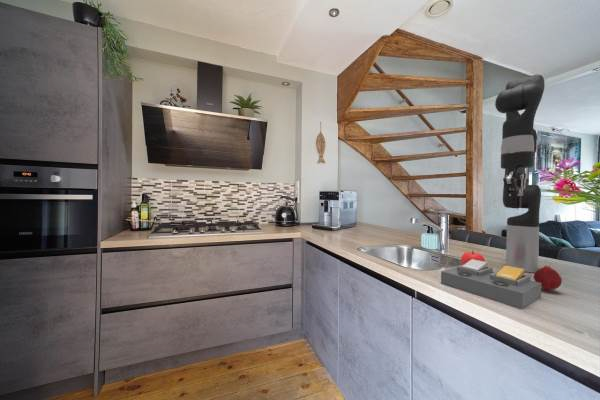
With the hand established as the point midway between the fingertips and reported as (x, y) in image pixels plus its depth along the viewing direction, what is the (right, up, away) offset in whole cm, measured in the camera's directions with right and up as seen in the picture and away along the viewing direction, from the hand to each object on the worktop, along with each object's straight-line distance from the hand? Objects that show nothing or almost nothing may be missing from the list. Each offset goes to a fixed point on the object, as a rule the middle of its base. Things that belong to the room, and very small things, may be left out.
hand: (515, 208), depth 72 cm
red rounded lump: (+8, -25, -2) cm, 27 cm away
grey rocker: (-10, -19, +4) cm, 22 cm away
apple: (-1, -25, +16) cm, 30 cm away
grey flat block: (-10, -25, -1) cm, 27 cm away
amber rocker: (-5, -19, -4) cm, 20 cm away
